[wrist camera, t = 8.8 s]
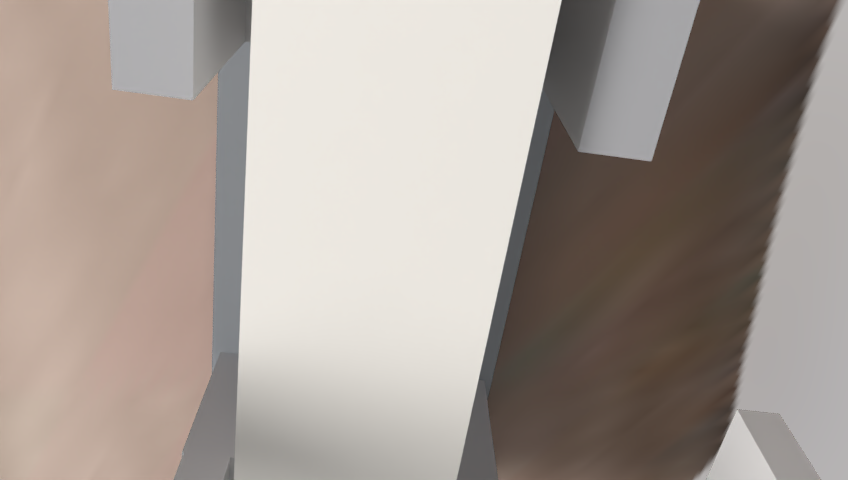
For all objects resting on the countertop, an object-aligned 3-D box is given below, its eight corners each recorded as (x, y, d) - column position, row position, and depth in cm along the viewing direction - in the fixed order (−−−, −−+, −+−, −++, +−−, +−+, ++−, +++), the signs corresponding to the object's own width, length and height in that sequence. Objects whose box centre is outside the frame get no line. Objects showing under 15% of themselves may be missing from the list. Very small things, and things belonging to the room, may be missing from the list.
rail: (307, -121, 14) (256, -109, 9) (522, -87, 14) (574, -59, 10) (261, 562, 22) (223, 744, 17) (399, 574, 22) (396, 755, 18)
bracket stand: (233, -211, 18) (71, -270, 9) (604, -149, 18) (767, -152, 10) (216, 437, 27) (127, 707, 18) (466, 462, 27) (491, 733, 19)
